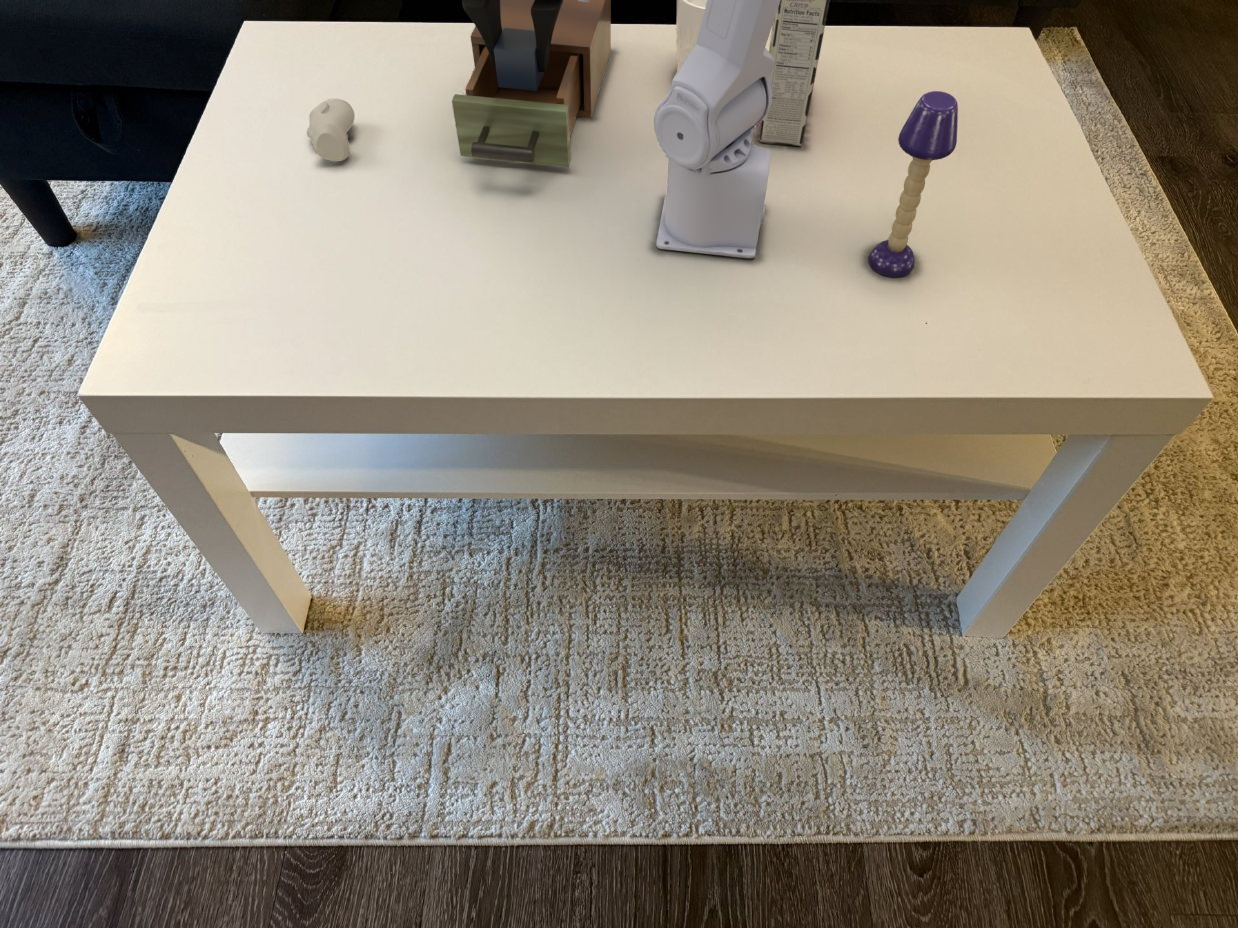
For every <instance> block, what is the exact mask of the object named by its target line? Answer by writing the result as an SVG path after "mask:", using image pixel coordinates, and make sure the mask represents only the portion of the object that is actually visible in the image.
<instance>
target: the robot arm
mask: <svg viewBox="0 0 1238 928" xmlns="http://www.w3.org/2000/svg"><path fill="white" fill-rule="evenodd" d="M578 1H580V2H589V0H578ZM461 3H462V8H463V11H464V12H465V13H466V14H467V16H468V18H470V20H471V21H472V23H473V24H474V27H475V26H476V27H477V29H478V31H479V33H480V34H481V36H482V38H483V40H484V42H485V45H486V47H487V50H488V52H489V55H490V57H491V60H492V64H493V67H496V63H495V54H494V48H495V46H496V43H497V41H498V39H499V37H500V35H501V33H502V26H501V12H500V0H461ZM562 3H563V0H535V1H534V3H533V5H532V7H531V16H532V20H533V25H534V30H535V37H536V52H537V66H538V72H545V71H546V68H547V66H548V63H549V53H550V45H551V40H552V35H553V31H554V27H555V23H556V20H557V17H558V14H559V11H560V8H561V5H562ZM779 3H780V0H707V2H706V6H705V10H704V14H703V19H702V23H701V27H700V31H699V35H698V39H697V43H696V45H695V47H694V48H693V50H692V51H691V53H690V54H689V56H688V57H687V59H686V60H685V61H684V63H683V64H682V66H681V67H680V69H679V70H678V72H677V71H676V73H675V75H674V76H673V79H672V80H671V85H670V88H669V92H668V94H667V96H666V97H665V98H664V99H663V100H662V101H660V102H659V104H658V105H657V107H656V109H655V111H654V115H653V130H654V134H655V138H656V140H657V143H658V146H660V148H661V150H662V151H663V153H664V154H665V157H666V158H667V159H668V162H667V163H668V165H667V166H668V167H667V178H666V194H665V195H664V201H663V205H662V211H661V216H660V221H659V226H658V230H657V236H656V241H655V245H656V248H658V249H661V250H668V251H678V252H686V253H694V254H695V253H696V254H706V255H714V256H724V257H731V258H732V257H733V258H742V259H754V258H755V257H756V253H757V247H758V241H759V236H760V235H759V234H760V230H761V229H760V228H761V225H763V224H764V221H765V215H766V207H767V206H766V204H765V201H766V194H767V189H768V182H769V181H768V180H769V175H770V174H769V173H770V166H771V158H772V150H771V149H770V148H765V147H762V146H759V145H758V144H754V143H752V140H753V138H754V134H755V132H754V131H755V125H757V124H759V123H761V121H762V120H763V119H764V118H765V117H766V116H767V114H768V112H769V110H770V107H771V103H772V90H771V74H772V70H773V67H774V64H775V59H774V58H773V57H772V55H771V54H770V53H769V49H767V48H766V46H767V43H768V41H769V37H770V35H771V32H772V26H773V22H774V19H775V16H776V13H777V10H778V7H779Z"/></svg>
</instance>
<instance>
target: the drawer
mask: <svg viewBox="0 0 1238 928" xmlns="http://www.w3.org/2000/svg"><path fill="white" fill-rule="evenodd" d="M464 90H465V94H457V93H456V94H455V93H454V95H453V97H452V99H451V105H452V111H453V115H454V116H453V117H454V123H455V129H456V135H457V142H458V148H459V154H460V157H463V158H464V157H466V158H474V159H475V158H476V159H486V160H494V161H504V162H514V163H524V164H533V165H541V166H542V165H544V166H552V167H562V168H563V167H564V168H569V166H570V163H571V162H572V161H571V159H572V158H571V137H572V136H571V135H572V132H573V129H574V126H575V123H576V119H577V118H578V117H577V113H578V110H579V107H580V104H581V100H582V97H583V72H582V54H580V53H569V52H558V51H550V53H549V63H548V66H547V68H546V71H545V72H544V74H543V77H542V79H541V82H540V84H539V87H538V89H537V91H531V90H522V89H512V88H503V87H498V81H497V72H496V67H493V64H492V60H491V57H490V55H489V52H488V50H487V47H486V45H485V47H484V49H483V51H482V53H481V56H480V58H479V60H478V62H477V64H476V67H475V66H474V69H473V71H472V73H471V76H470V78H469V80H468V82H467V85H466V86H465V89H464Z"/></svg>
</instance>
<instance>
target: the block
mask: <svg viewBox="0 0 1238 928" xmlns="http://www.w3.org/2000/svg"><path fill="white" fill-rule="evenodd" d="M494 54H495V63H496V72H497V81H498V87H503V88H512V89H522V90H531V91H537V89H538V87H539V84H540V82H541V79H542V77H543V74H544V72H538V66H537V52H536V37H535V31H533V30H523V29H513V28H503V31H502V33H501V35H500V37H499V39H498V41H497V43H496V46H495V48H494Z"/></svg>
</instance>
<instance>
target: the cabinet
mask: <svg viewBox="0 0 1238 928" xmlns="http://www.w3.org/2000/svg"><path fill="white" fill-rule="evenodd" d="M534 1H535V0H500V12H501V26H502V31H503V28H513V29H523V30H533V31H535V30H534V25H533V20H532V16H531V7H532V5H533V3H534ZM611 20H612V0H589V2H580V1H578V0H563V3H562V5H561V8H560V11H559V14H558V17H557V20H556V23H555V27H554V31H553V35H552V40H551V45H550V51H558V52H569V53H580V54H582V72H583V97H582V100H581V104H580V107H579V110H578V113H577V117H576V118H585V119H592V117H593V114H594V111H595V107H596V104H597V101H598V98H599V94H600V90H601V87H602V83H603V80H604V77H605V73H606V70H607V66H608V63H609V59H610V56H611V53H612V46H611V45H612V30H611V29H612V21H611ZM470 43H471V50H472V58H473V64H474V65H473V66H474V68H475V67H476V64H477V62H478V60H479V58H480V56H481V53H482V51H483V49H484V47H485V42H484V40H483V38H482V36H481V34H480V33H479V31H478V29H477V27H476V26H475V25H474V28H473V30H472V31H471V34H470Z"/></svg>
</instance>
